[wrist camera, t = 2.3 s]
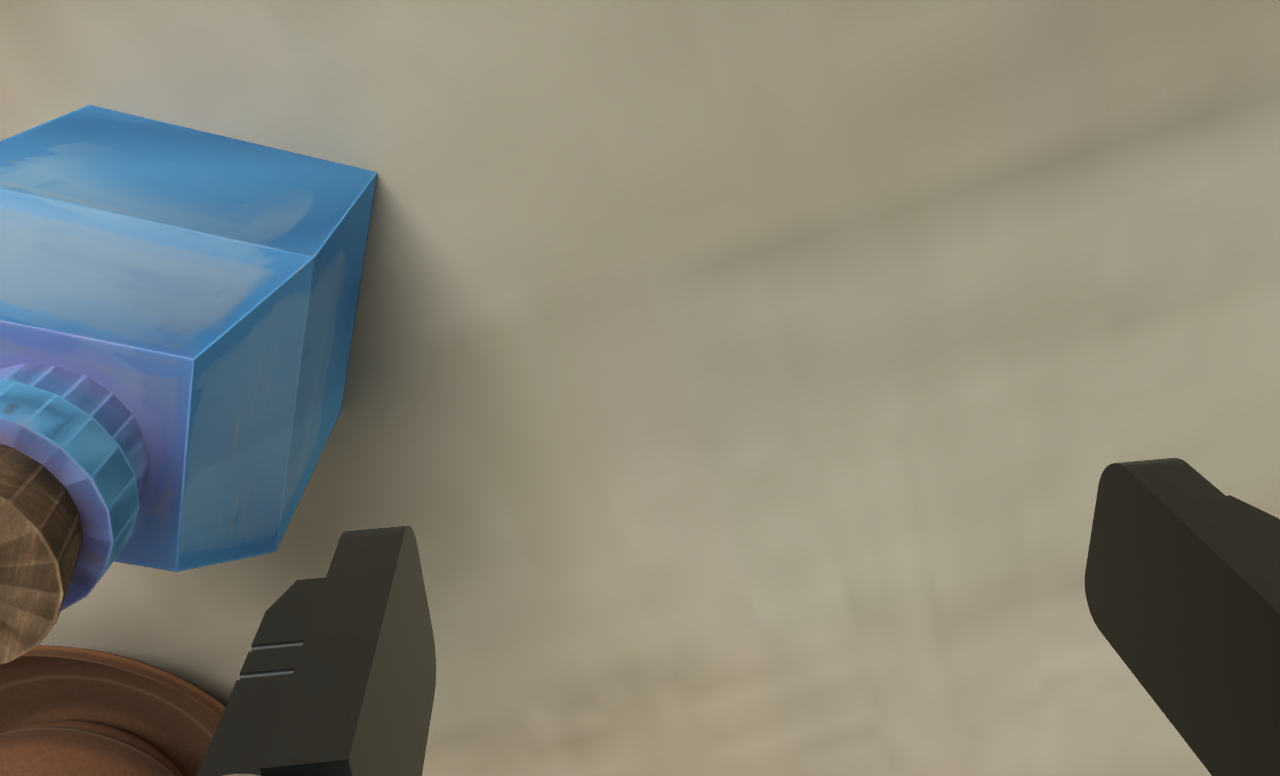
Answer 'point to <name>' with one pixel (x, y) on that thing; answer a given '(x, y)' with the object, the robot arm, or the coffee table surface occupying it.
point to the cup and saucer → (100, 717)
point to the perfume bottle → (162, 349)
